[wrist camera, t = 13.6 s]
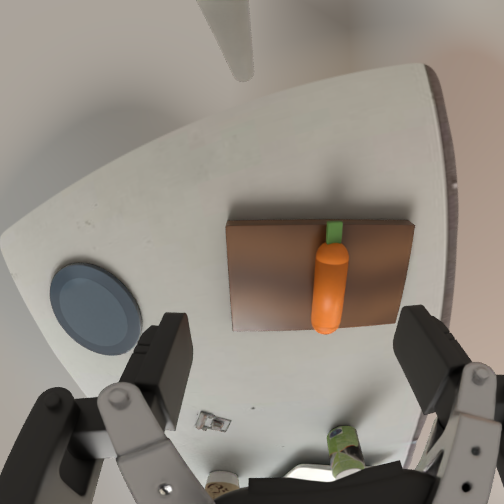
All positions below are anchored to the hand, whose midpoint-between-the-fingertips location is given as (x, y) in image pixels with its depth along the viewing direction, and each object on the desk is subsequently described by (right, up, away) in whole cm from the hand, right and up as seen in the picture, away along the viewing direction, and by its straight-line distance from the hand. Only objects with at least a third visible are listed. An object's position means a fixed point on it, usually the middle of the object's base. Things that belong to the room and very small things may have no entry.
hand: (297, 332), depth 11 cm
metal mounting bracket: (-12, -30, +39) cm, 51 cm away
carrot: (+7, 0, +24) cm, 25 cm away
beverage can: (+16, -32, +39) cm, 53 cm away
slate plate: (-25, -6, +29) cm, 39 cm away
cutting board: (+7, 0, +26) cm, 27 cm away
